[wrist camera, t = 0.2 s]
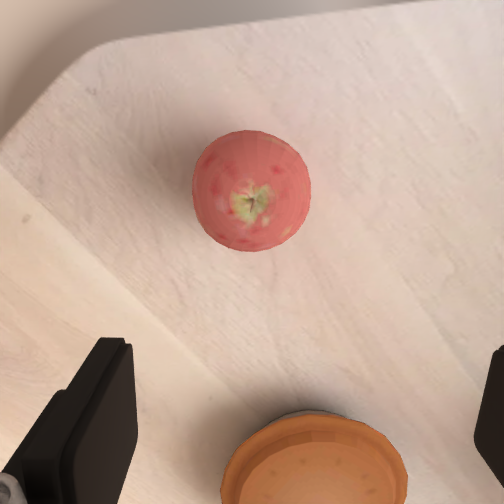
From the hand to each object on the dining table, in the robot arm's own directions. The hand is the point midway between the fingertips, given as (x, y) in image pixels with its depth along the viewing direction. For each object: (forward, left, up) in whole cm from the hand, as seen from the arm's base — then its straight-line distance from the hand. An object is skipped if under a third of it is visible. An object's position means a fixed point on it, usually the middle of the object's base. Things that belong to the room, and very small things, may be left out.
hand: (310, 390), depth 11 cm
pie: (+23, +5, -21) cm, 32 cm away
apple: (-2, -1, -21) cm, 22 cm away
